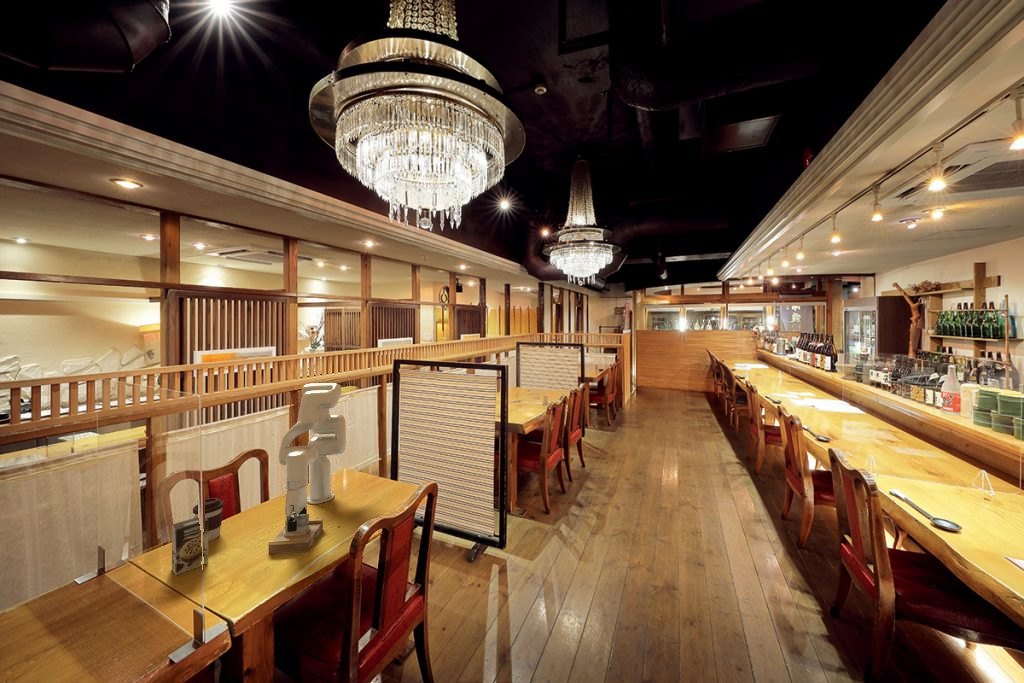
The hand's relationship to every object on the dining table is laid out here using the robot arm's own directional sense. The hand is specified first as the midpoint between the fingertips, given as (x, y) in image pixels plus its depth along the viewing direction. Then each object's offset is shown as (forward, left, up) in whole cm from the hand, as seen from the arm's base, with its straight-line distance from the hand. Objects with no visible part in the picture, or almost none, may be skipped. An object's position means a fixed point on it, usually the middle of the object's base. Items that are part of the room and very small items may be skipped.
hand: (297, 524), depth 150 cm
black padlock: (0, 0, -3) cm, 3 cm away
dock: (0, 0, -7) cm, 7 cm away
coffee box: (+12, -31, -7) cm, 34 cm away
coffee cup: (-8, -37, -7) cm, 38 cm away
